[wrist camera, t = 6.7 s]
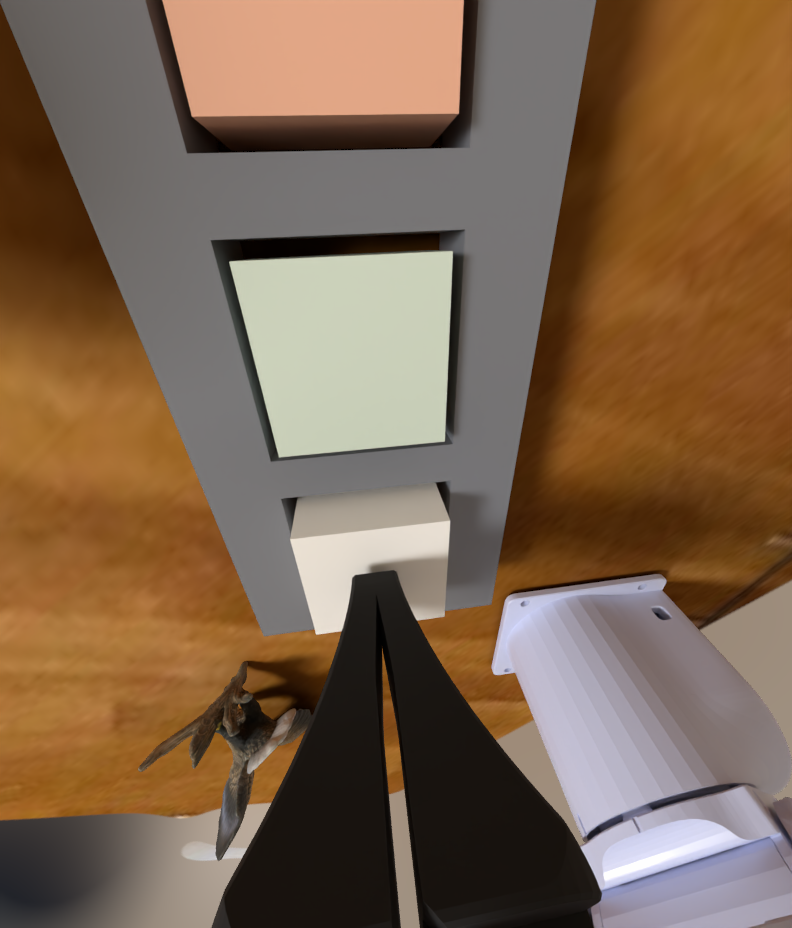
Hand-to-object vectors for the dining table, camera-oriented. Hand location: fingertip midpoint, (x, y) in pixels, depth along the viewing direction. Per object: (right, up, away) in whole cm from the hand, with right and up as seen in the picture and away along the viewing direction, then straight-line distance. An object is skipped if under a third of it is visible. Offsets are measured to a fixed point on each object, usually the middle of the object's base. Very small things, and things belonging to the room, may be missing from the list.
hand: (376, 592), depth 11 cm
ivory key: (0, +2, +3) cm, 3 cm away
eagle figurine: (-8, -10, +11) cm, 17 cm away
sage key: (-1, +8, 0) cm, 8 cm away
